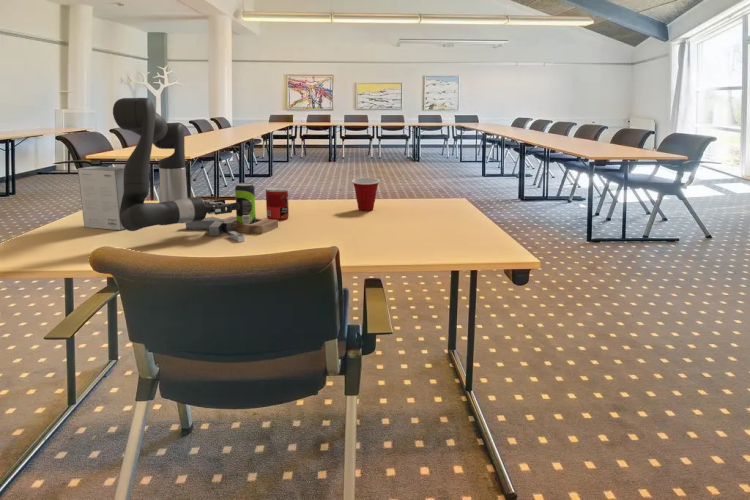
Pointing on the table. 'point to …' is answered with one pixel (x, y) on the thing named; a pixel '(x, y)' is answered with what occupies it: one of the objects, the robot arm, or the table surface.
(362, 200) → the plastic cup
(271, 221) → the wooden rectangular frame
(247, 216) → the beverage can
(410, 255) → the table surface
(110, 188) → the hard drive box
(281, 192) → the canned food
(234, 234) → the bar
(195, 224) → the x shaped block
